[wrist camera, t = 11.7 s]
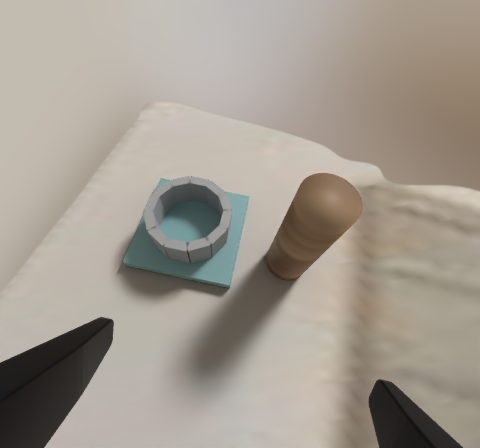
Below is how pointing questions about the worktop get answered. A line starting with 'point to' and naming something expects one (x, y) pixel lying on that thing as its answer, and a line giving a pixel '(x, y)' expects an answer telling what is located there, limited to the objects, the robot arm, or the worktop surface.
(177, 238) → the ring stand
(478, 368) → the worktop surface
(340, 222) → the walnut peg
